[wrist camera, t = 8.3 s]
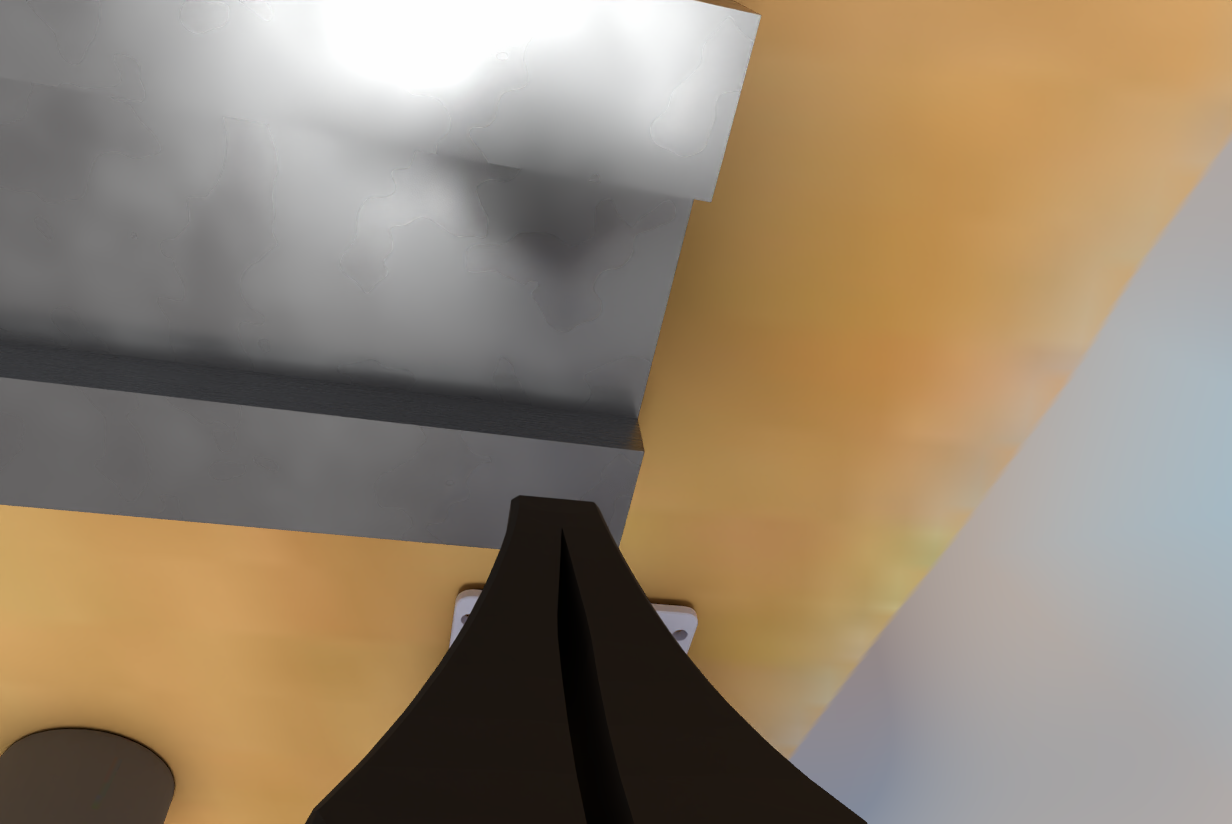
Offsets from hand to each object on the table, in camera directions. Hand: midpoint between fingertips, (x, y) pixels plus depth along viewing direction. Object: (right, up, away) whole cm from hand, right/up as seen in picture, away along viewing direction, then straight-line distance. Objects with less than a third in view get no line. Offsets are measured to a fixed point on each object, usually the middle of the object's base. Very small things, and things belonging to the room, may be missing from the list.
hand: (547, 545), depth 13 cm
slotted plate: (-7, +7, +6) cm, 11 cm away
